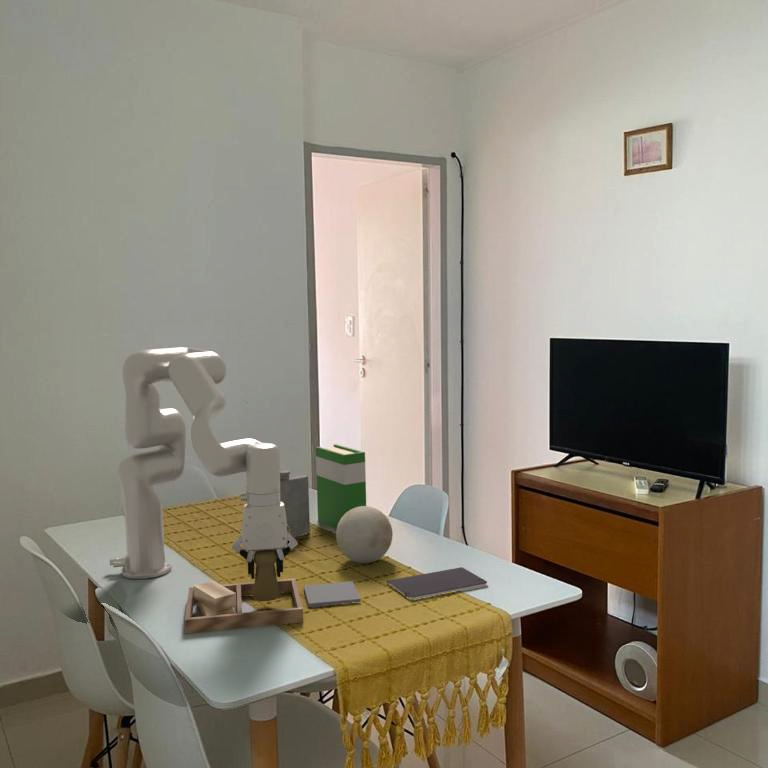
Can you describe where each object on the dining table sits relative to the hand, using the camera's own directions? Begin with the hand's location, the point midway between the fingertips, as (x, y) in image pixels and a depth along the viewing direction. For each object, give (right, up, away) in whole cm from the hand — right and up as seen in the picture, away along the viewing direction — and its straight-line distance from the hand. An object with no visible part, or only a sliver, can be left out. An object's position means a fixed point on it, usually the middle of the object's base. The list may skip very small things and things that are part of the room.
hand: (265, 575), depth 184 cm
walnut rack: (-5, -8, -1) cm, 9 cm away
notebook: (+40, -6, +13) cm, 43 cm away
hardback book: (+14, -1, +68) cm, 69 cm away
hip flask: (-2, -2, +57) cm, 57 cm away
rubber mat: (+15, -7, +7) cm, 18 cm away
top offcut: (-11, -6, -2) cm, 13 cm away
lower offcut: (-11, -9, -2) cm, 14 cm away
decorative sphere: (+22, -4, +32) cm, 39 cm away
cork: (0, -5, +1) cm, 5 cm away
